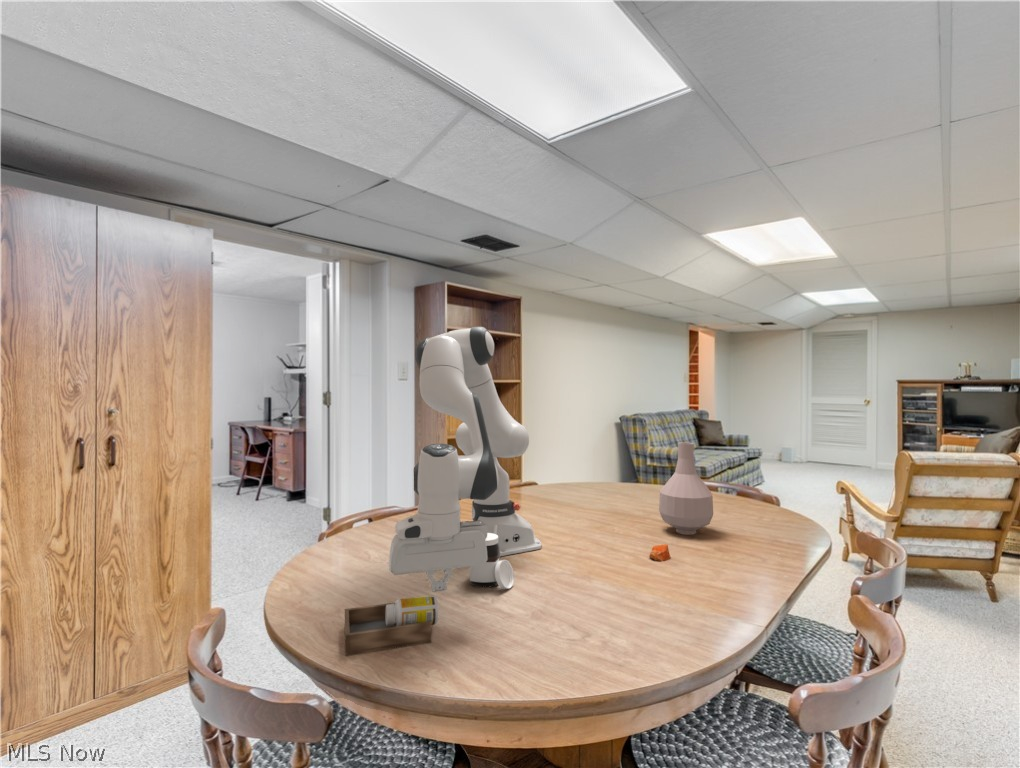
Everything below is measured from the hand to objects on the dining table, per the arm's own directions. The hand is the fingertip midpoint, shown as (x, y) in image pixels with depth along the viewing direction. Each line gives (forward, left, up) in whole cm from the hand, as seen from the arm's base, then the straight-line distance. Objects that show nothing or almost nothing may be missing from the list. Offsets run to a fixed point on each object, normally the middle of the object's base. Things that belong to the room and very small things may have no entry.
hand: (439, 590), depth 108 cm
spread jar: (-17, -19, -8) cm, 27 cm away
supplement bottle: (0, 0, -4) cm, 4 cm away
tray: (+11, 0, -8) cm, 13 cm away
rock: (-68, -23, -9) cm, 73 cm away
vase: (-92, -42, -8) cm, 101 cm away
